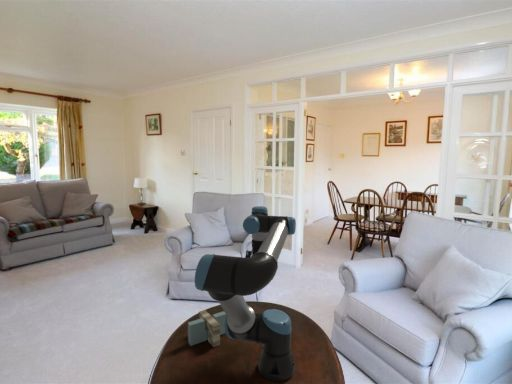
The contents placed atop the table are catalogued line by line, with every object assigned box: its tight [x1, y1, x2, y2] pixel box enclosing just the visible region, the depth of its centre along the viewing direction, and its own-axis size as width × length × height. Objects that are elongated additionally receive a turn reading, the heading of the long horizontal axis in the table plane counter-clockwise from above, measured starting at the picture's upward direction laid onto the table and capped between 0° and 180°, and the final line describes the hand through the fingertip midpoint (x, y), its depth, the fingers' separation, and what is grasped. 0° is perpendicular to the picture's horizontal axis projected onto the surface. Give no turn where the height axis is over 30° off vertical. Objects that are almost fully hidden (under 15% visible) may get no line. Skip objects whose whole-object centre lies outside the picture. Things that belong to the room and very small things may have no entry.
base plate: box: [187, 310, 227, 347], centre depth 145 cm, size 20×3×10 cm, turn 124°
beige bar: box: [198, 309, 221, 348], centre depth 145 cm, size 16×4×10 cm, turn 34°
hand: (259, 281), depth 146 cm, fingers open, 13 cm apart
